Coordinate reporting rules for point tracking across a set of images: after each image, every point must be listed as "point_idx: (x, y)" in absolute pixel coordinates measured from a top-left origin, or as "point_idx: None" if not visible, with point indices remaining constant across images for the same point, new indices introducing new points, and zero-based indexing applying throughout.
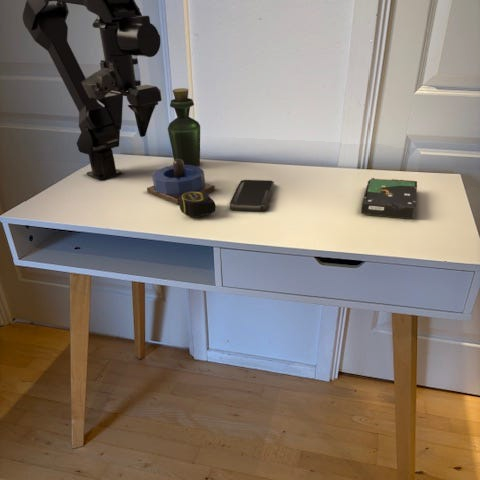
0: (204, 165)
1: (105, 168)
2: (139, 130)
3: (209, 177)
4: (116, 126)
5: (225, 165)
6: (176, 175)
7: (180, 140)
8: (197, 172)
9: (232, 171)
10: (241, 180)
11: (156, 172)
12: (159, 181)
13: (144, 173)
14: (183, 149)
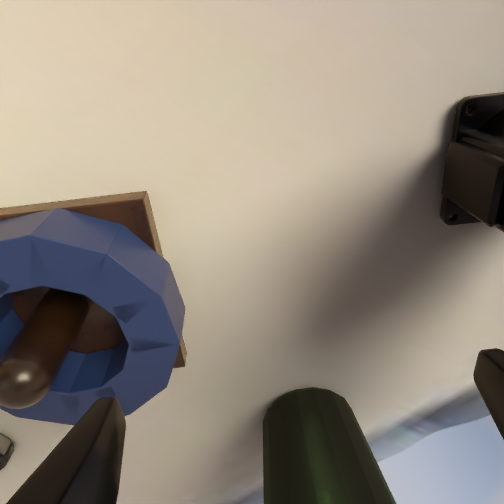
0: None
1: (475, 150)
2: (68, 444)
3: (151, 413)
4: (501, 371)
5: (216, 479)
6: (27, 325)
7: (291, 500)
8: None
9: (154, 471)
10: (4, 456)
11: (125, 281)
12: (5, 237)
13: (364, 287)
14: (282, 465)
